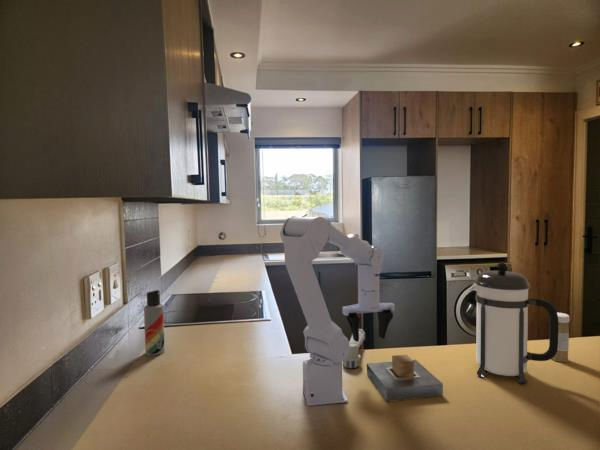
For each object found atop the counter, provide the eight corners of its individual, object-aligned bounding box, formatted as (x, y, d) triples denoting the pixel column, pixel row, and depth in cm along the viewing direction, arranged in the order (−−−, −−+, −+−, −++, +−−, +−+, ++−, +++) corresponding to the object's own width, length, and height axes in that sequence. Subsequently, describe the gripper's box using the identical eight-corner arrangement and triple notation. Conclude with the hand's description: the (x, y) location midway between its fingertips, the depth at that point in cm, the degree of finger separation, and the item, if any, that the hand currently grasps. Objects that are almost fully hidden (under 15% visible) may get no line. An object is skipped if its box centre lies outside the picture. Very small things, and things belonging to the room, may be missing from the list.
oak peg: (398, 389, 90) (398, 362, 90) (392, 382, 94) (392, 355, 94) (413, 388, 91) (413, 360, 90) (406, 381, 95) (406, 354, 94)
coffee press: (501, 391, 88) (502, 269, 87) (458, 364, 104) (459, 260, 103) (559, 382, 92) (561, 265, 91) (509, 357, 108) (510, 257, 107)
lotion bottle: (153, 357, 112) (151, 293, 111) (141, 354, 115) (139, 291, 114) (168, 351, 117) (166, 289, 116) (156, 347, 120) (154, 287, 119)
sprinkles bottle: (546, 355, 109) (547, 311, 108) (563, 357, 108) (564, 312, 107) (554, 362, 104) (554, 316, 104) (572, 363, 103) (572, 316, 103)
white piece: (367, 328, 125) (359, 344, 101) (367, 348, 125) (359, 369, 101) (351, 327, 127) (340, 343, 103) (351, 346, 126) (340, 367, 102)
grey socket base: (386, 401, 85) (386, 388, 85) (366, 374, 99) (366, 362, 98) (442, 395, 87) (442, 382, 87) (415, 370, 101) (415, 358, 100)
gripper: (349, 294, 93) (349, 346, 94) (400, 290, 97) (400, 341, 97) (339, 288, 100) (340, 337, 100) (387, 285, 103) (387, 332, 104)
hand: (369, 338), depth 99 cm, fingers open, 7 cm apart
